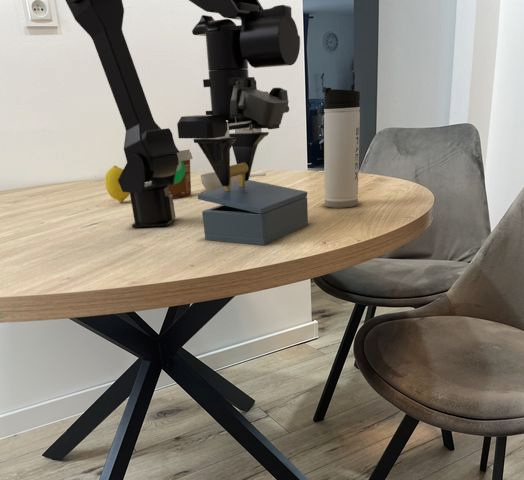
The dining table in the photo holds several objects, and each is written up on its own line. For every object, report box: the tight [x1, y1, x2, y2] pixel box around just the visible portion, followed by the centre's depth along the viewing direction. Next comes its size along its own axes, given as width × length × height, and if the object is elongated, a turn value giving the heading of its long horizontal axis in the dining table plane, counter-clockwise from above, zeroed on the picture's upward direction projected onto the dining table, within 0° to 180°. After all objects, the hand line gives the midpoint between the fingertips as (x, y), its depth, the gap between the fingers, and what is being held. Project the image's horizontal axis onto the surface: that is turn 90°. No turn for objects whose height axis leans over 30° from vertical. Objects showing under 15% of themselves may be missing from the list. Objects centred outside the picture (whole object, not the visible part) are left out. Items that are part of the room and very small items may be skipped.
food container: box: [149, 149, 193, 200], centre depth 116 cm, size 12×6×10 cm, turn 76°
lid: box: [197, 163, 308, 214], centre depth 78 cm, size 11×14×4 cm
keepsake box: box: [201, 196, 309, 246], centre depth 81 cm, size 11×14×4 cm
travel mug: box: [321, 87, 361, 209], centre depth 93 cm, size 6×7×20 cm
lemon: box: [104, 165, 130, 203], centre depth 115 cm, size 6×6×8 cm
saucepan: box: [199, 171, 267, 192], centre depth 122 cm, size 11×18×4 cm, turn 54°
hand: (235, 183), depth 80 cm, fingers closed on lid, 5 cm apart
